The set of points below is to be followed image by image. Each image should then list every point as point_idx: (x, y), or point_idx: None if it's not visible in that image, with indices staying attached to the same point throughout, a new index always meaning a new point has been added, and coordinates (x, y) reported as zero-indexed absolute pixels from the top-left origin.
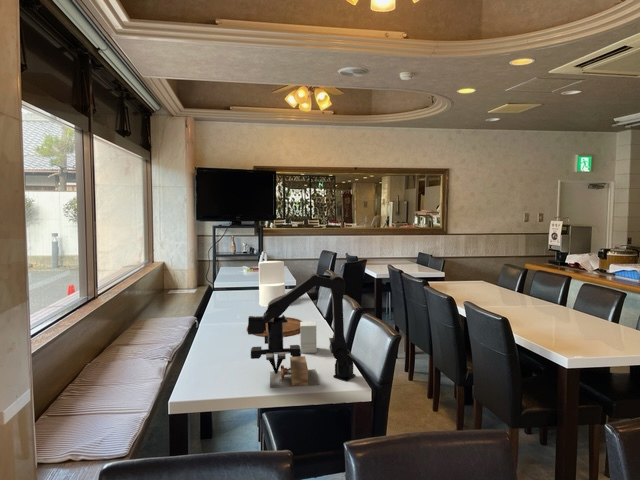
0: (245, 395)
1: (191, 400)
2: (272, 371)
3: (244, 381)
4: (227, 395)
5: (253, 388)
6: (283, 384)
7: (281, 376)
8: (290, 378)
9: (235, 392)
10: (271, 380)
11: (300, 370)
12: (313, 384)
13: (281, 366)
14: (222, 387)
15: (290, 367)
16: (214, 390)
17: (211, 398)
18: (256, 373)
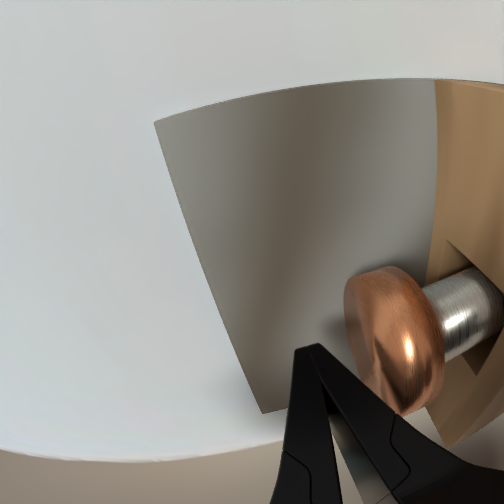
0: (157, 456)
1: (15, 452)
2: (192, 114)
3: (33, 360)
4: (83, 452)
5: (155, 422)
6: (355, 375)
7: (358, 360)
8: (420, 283)
9: (93, 442)
10: (251, 354)
11: (493, 418)
12: None
13: (404, 415)
14: (4, 407)
15: (488, 200)
16: (4, 422)
17: (51, 456)
18: (8, 195)
